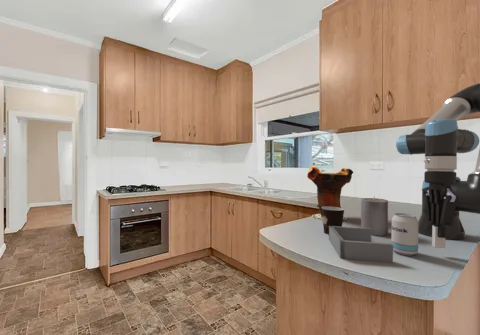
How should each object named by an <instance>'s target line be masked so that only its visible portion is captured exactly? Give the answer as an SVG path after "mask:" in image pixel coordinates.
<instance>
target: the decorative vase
mask: <svg viewBox="0 0 480 335" xmlns="http://www.w3.org/2000/svg"><path fill="white" fill-rule="evenodd" d="M308 169H309V170H310V171H308V173H307V178H308V180H311V182H312V183H314V185H315V186H316V187H317V188H316V193H317V194H316V196H317V197H316V198H317V206H316V208H318V211H319V213H316V214H312V215H311V217H313V219H317V220H319V221H323V218H322V215H321V210H322V207H339V208H342V207H341V194H342V189H343V187H345V185H347V184H349V183H350V182H351V180H352V177H353V176H352V175H353V174H354V171H353V170H352V169H351V168H345V167H342V168H341V169H340V170H339V171H337V172H322V170H321V171H320V168H318V167H317V166H316V165H315V166H314V165H312V166H310V167H309V168H308ZM318 215H320V216H318ZM315 216H317V217H315ZM345 220H347V217H346V216H345V215H343V221H345Z"/></svg>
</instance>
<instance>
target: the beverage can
mask: <svg viewBox="0 0 480 335" xmlns="http://www.w3.org/2000/svg"><path fill="white" fill-rule="evenodd" d="M418 221H419V219H417V217H416V215H415V214H411V213H403V212H402V213H401V212H400V213H399V212H396V213H395V212H394V214H393V216H392V217H391V236H390V237H391V240H390V241H391V244H393V252H395V253H397V254H399V255H400V256H401V255H402V256H410V257H412V256H414V255H416V254H418V253H419V232H418Z"/></svg>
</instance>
